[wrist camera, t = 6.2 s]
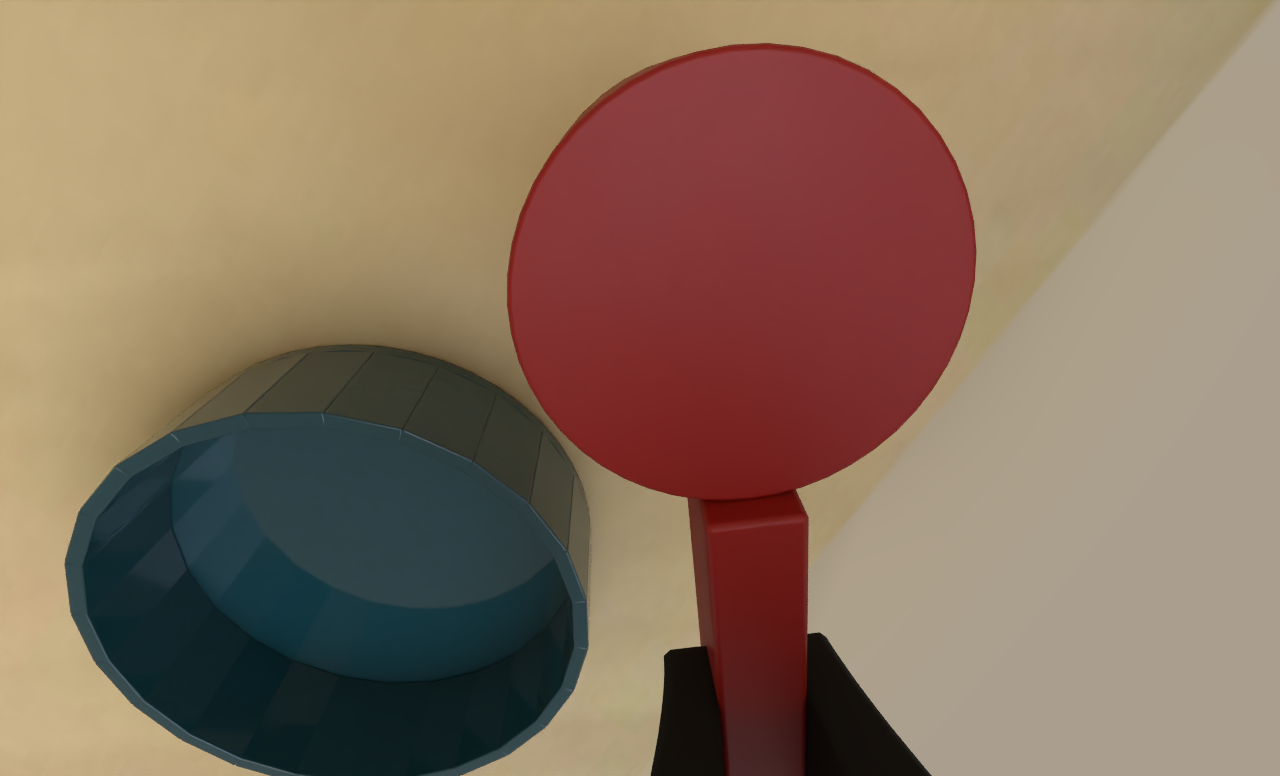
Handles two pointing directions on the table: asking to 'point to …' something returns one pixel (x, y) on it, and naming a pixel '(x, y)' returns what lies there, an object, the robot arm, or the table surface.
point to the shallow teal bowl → (341, 569)
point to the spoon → (743, 322)
